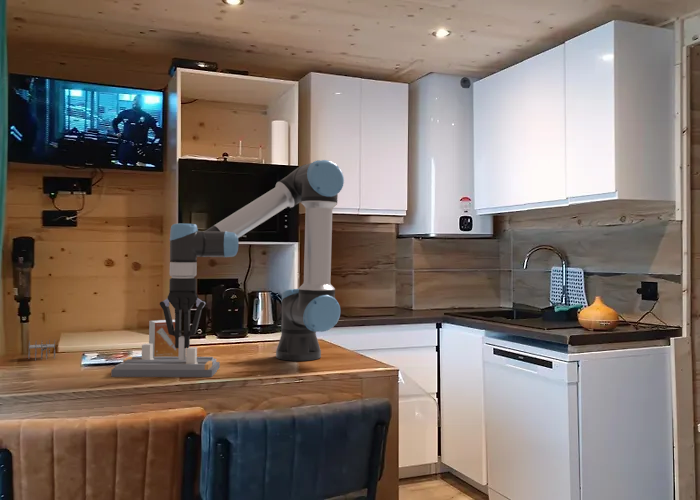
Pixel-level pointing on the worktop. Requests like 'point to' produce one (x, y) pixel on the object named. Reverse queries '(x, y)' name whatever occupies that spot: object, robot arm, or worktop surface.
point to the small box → (162, 339)
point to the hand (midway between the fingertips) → (182, 359)
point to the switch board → (165, 367)
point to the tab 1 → (147, 351)
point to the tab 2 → (191, 355)
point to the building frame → (42, 349)
